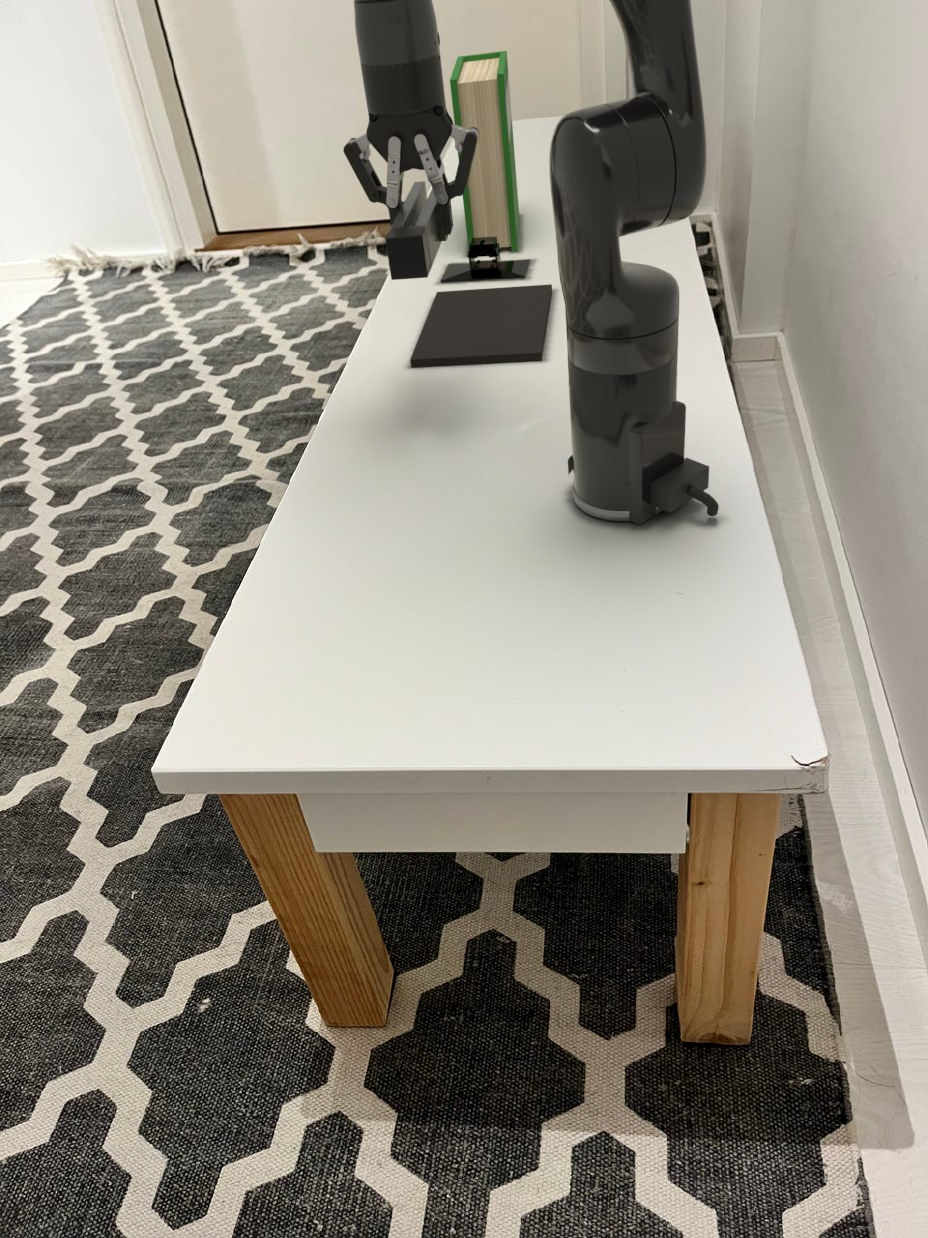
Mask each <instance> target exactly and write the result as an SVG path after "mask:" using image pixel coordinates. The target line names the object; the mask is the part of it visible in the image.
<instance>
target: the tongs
mask: <svg viewBox="0 0 928 1238" xmlns="http://www.w3.org/2000/svg"><path fill="white" fill-rule="evenodd" d="M403 201H404V204H403V206H402V207H401V209H400V211H399V213H398V215H397V217H396V219H395V221H394V223H393V224H392V226H391V225H390V228H389V231H388V232H387V234H386V236H385V238H384V240H385V241H384V242H385V246H386V247H385V248H386V254H387V260H388V266H389V272H390V277H391V278H390V279H391V280H392V281H397V280H398V281H399V280H412V279H426V278H429V275H430V272H431V270H432V268H433V265H434V262H435V259H436V258H437V254H438V252H439V249H440V247H441V244H442V242H443V241H440V240H439V232H438V224H437V216H436V208H435V204H436V202H437V200H436V197H435V195H434V192H433V189H432V188H431V189H430V192H429V194H428V195H427V187H426V181H415V182H413V184H412V186H411V188H410V190H409V192H408V194H407V196H406V197H405V199H404V200H403Z"/></svg>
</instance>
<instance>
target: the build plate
mask: <svg viewBox="0 0 928 1238" xmlns="http://www.w3.org/2000/svg"><path fill="white" fill-rule="evenodd" d="M501 252H502V247H500V246H499V243H497V237H480V238H472V240H471V242H470V244H469V249H468V251H467V255H466V256H467V257H466V258H468V262H457V263H456V262H455V263H449V264H448V265H447V267H446V268H445V271H444V273H442V277H441V278H440V283H441V284H450V283H467V282H469V283H470V282H471V283H472V282H486V281H487V282H489V281H506V280H524V279H526V278H527V275H528V271H529V268H530V265H531V262H532V259H531V258H528V259H510V260H502V259H501ZM479 257H480V258H481V257H488V258H493V259H487V260H486V259H485V260H481V259H477V258H479ZM475 259H477V260H475Z"/></svg>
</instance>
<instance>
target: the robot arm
mask: <svg viewBox="0 0 928 1238" xmlns="http://www.w3.org/2000/svg"><path fill="white" fill-rule="evenodd" d="M608 1H609V3H610V4H611V7H612V9H613V11H614V13H615V15H616V18H617V20H618V23H619V25H620V29H621V32H622V35H623V38H624V44H625V47H626V52H627V58H628V63H629V68H630V77H631V88H632V97H628V98H624V99H619V100H615V101H610V102H606V103H602V104H597V105H592V106H587V107H583V108H580V109H577V110H573V111H570V112H568V113H566V114H565V115H563V116H562V117H561V118H560V119H559V120H558V122H557V123H556V125H555V128H554V130H553V133H552V137H551V141H550V147H549V148H550V149H549V157H548V158H549V159H548V160H549V161H548V162H549V183H550V185H549V186H550V195H551V203H552V213H553V222H554V230H555V231H554V232H555V240H556V252H557V264H558V265H557V266H558V267H557V268H558V275H559V282H560V287H561V292H562V297H563V302H564V309H565V327H566V328H565V330H566V347H567V349H566V350H567V351H566V352H567V373H568V393H569V411H570V412H569V413H570V414H569V415H570V432H571V436H570V437H571V452H572V453H571V455H570V456H569V457H568V459H567V470H568V471H567V472H568V473H567V475H568V476H569V475H570V474H571V472H572V471H573V483H572V493H573V494H572V495H573V500H574V503H575V504H576V506H577V507H578V508H579V509H580V510H581V511H583V512H584V513H586V514H587V515H589V516H592V517H595V518H597V519H601V520H605V521H613V522H631V523H634V524H636V525H642V524H644V523H645V522H647V521H649V520H650V519H652V518H653V517H654V516H656V515H658V514H660V513H661V512H663V511H664V512H666V513H669V514H670V513H672V512H674V511H676V509H678V508H680V507H682V506H683V505H684V504H686V503H688V502H689V501H690V500H692V499H695V500H696V501H698V502H700V503H701V504H703V505H704V506H705V507H706V508H707V509H706V514H707V515H708V516H709V517H715V516H717V515H718V512H719V508H720V506H719V503H718V501H716V499H715V498H714V497H713V496H712V495H711V494H709V493H708V492H706V491H705V490H707V489H709V481H710V479H709V477H710V466H709V465H706V464H704V463H701V462H699V461H697V460H694V459H691V458H688V457H685V453H686V452H685V448H686V423H687V421H686V419H687V406H686V404H685V402H681V401H679V400H677V396H678V394H677V392H678V390H677V389H678V360H679V359H678V356H679V355H678V353H679V328H680V327H679V326H680V325H679V324H680V323H679V322H680V321H679V320H680V287H679V284H678V281H677V279H676V278H675V277H674V276H673V275H672V274H671V273H669V272H667V271H666V270H664V269H662V268H659V267H656V266H653V265H649V264H644V263H638V262H630V261H624V260H622V254H621V247H620V246H621V245H620V238H621V237H625V236H629V235H633V234H637V233H641V232H645V231H648V230H652V229H656V228H660V227H663V226H668V225H672V224H674V223H678V222H681V221H682V220H685V219H687V218H688V217H690V216H691V215H692V214H693V213H694V212H695V210H696V209H697V207H698V206H699V204H700V202H701V199H702V196H703V193H704V191H705V190H704V189H705V185H706V177H707V168H708V167H707V165H708V150H707V147H708V146H707V133H706V132H707V131H706V120H705V111H704V103H703V93H702V86H701V78H700V77H701V76H700V69H699V60H698V54H697V53H698V52H697V44H696V36H695V27H694V19H693V7H692V0H608ZM433 3H434V2H433V0H353V9H354V31H355V37H356V38H355V39H356V43H357V45H356V46H357V50H358V57H359V63H360V70H361V76H362V82H363V83H362V84H363V88H364V96H365V101H366V107H367V114H368V124H367V127H366V132H365V133H363V134H362V135H360V136H359V137H351V138H350V139H349V140H348V141H347V142H346V143H345V145H344V146H343V154H344V155H345V158H346V159H347V161H348V163H349V165H350V167H351V169H352V170H353V173H354V174H355V177H356V178H357V180H358V182H359V183H360V186H361V187H362V190H363V191H364V194H365V195H366V197H367V199H368V200H369V202H370V203H373V204H376V203H379V204H383V205H384V206H385V207H387V210H388V217H389V222H390V227H391V226H392V224H393V223H394V221H395V219H396V217H397V215H398V213H399V211H400V209H401V207H402V206H403V204H404V201H405V200H402V197H403V186H404V185H403V184H404V177H405V172H408V171H410V170H413V169H414V170H418V171H424V172H425V175H426V178H427V181H428V183H430V186H431V190H432V189H433V192H434V195H435V197H436V200H437V202H436V204H435V208H436V216H437V224H438V232H439V240H440V241H442V242H447V240H448V238H449V236H450V235H451V234H452V232H453V228H454V217H453V208H452V199H454V198H456V197H461V196H462V197H463V194H464V192H465V188H466V186H467V183H468V179H469V175H470V171H471V167H472V163H473V159H474V155H475V151H476V147H477V142H478V138H479V130H478V129H477V128H476V127H471V128H469V129H468V128H464V127H461V126H458V125H455V123H454V121H453V118H452V117H451V116H450V114H449V112H448V109H447V104H446V94H445V86H444V78H443V77H444V76H443V69H442V67H443V66H442V60H441V59H442V58H441V50H440V45H441V38H440V33H439V31H438V23H437V17H436V11H435V8H434V4H433ZM450 138H452V139H453V140H454V148H455V150H456V151H457V153H458V152H460V153H461V156H460V160H459V159H458V165H457V169H456V173H455V178H454V180H451V181H450V182H449V180H448V177H447V175H446V169H445V164H444V161H443V159H442V156H441V155H442V153H443V151H444V148H445V147H446V146H447V143H448V141H449V139H450ZM370 146H372V147H373V148H374V149H375V151H376V152H377V153H378V154H379V155H380V157H381V158H382V159H383V160H384V161H385V163H387V168H386V186H384V185H383V184H382V182H381V180H380V178H379V176H378V174H377V172H376V170H375V168H374V166H373V165H372V163H371V161H370V159H369V158H370V157H371V155H372V153H371V148H370Z"/></svg>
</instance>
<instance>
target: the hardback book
mask: <svg viewBox="0 0 928 1238" xmlns="http://www.w3.org/2000/svg"><path fill="white" fill-rule="evenodd" d="M449 84H450V85H449V86H450V95H451V103H452V113H453V119H454V121H453V123H454V124H455V125H458V126H461V127H464V128H468V129H469V128H471V127H476V128H477V129H478V130H479V138H478V142H477V147H476V151H475V155H474V159H473V163H472V167H471V171H470V175H469V179H468V183H467V186H466V188H465V192H464V194H463V195H462V202H463V212H464V221H465V229H466V238H467V239H466V240H467V247H468V248H467V249H468V250H469V244H470V242H471V240H472V238H480V237H497V243H499V246H500V248H509V247H510V248H511V253H517V252H519V251H518V250H519V235H520V231H519V230H520V207H519V193H518V182H517V181H518V180H517V167H516V156H515V155H516V154H515V142H514V130H513V128H514V127H513V115H512V102H511V89H510V76H509V63H508V51H507V50H502V51H501V50H500V51H492V52H484V53H477V54H476V53H475V54H469V55H459V56H457V58H456V60H455V64H454V67H453V69H452V73H451V75H450V79H449ZM460 156H461V153H460V152H458V151H457V157H458V158H457V159H458V161H459V160H460Z"/></svg>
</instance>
